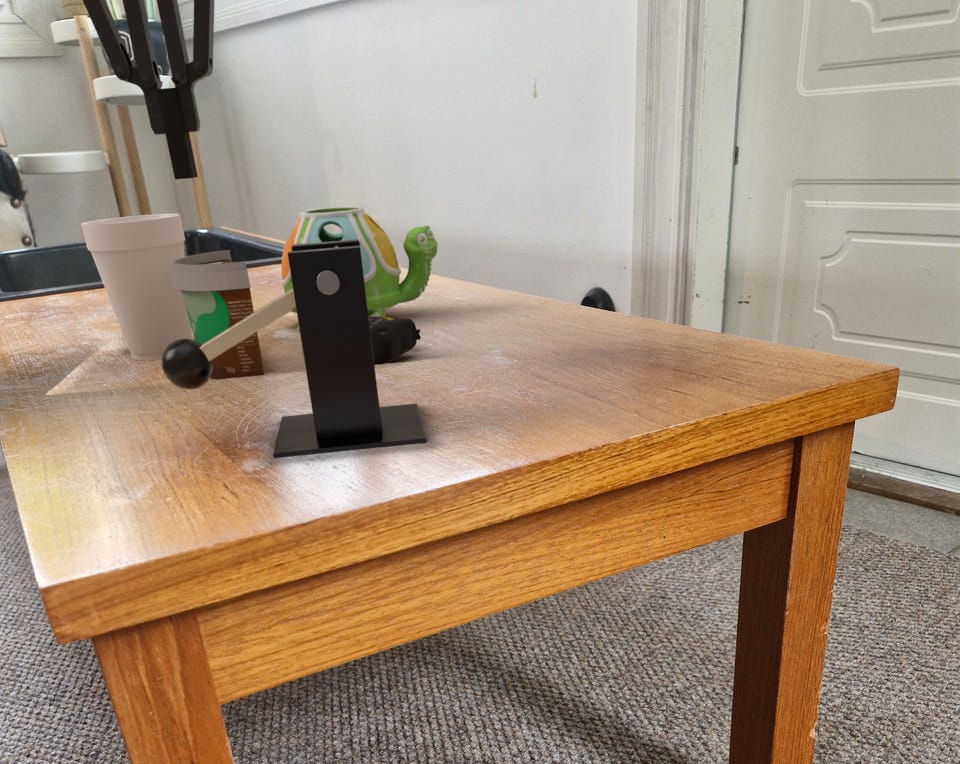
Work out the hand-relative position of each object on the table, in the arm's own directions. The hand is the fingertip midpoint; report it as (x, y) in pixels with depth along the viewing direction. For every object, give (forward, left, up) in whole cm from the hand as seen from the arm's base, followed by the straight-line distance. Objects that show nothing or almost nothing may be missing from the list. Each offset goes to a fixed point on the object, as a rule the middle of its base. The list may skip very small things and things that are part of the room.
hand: (186, 177), depth 77 cm
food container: (0, +1, -17) cm, 17 cm away
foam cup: (-8, +13, -17) cm, 22 cm away
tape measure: (+15, -1, -17) cm, 22 cm away
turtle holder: (+13, +22, -17) cm, 30 cm away
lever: (+7, -26, -9) cm, 29 cm away
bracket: (+12, -26, -17) cm, 33 cm away
